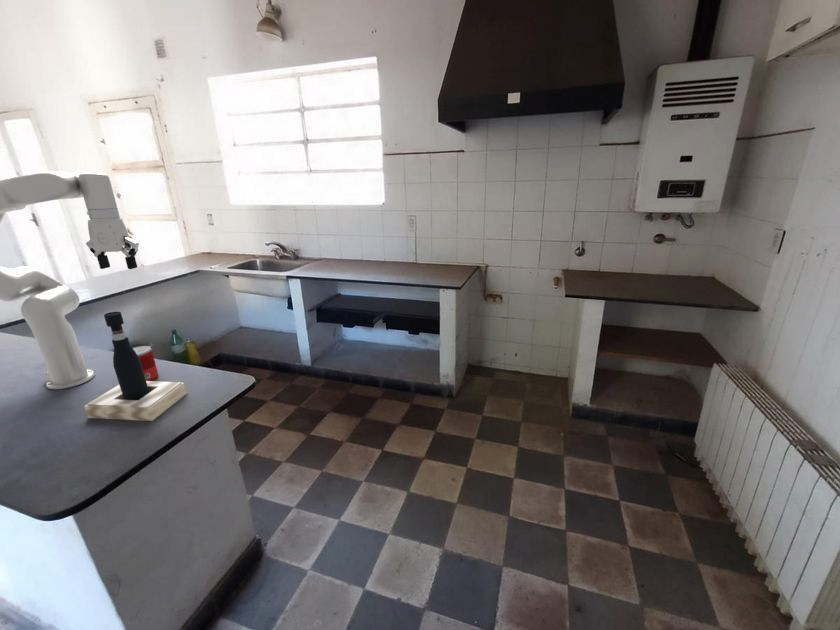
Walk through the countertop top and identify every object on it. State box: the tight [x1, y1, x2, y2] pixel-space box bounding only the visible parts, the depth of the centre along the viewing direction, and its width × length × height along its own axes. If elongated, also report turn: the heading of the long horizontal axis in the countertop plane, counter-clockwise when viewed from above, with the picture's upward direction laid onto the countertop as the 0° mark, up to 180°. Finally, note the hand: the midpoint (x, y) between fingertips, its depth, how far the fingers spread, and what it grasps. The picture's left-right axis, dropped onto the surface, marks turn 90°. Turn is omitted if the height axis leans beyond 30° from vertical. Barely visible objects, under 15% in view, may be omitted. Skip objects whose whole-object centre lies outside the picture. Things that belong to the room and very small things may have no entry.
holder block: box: [84, 380, 188, 422], centre depth 117 cm, size 20×15×4 cm
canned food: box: [132, 345, 159, 381], centre depth 132 cm, size 8×8×11 cm
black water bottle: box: [103, 311, 149, 400], centre depth 113 cm, size 6×6×30 cm
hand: (119, 268), depth 126 cm, fingers open, 9 cm apart
